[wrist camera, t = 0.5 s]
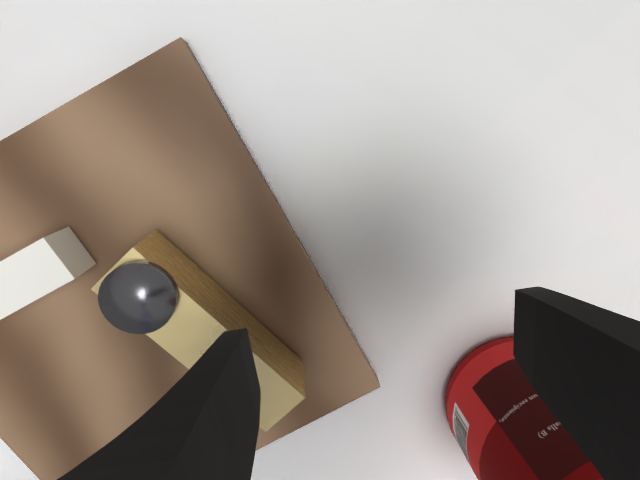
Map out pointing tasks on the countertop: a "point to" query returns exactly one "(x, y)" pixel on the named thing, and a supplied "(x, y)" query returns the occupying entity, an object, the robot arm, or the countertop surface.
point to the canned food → (509, 421)
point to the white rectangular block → (41, 269)
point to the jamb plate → (128, 230)
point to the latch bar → (194, 318)
